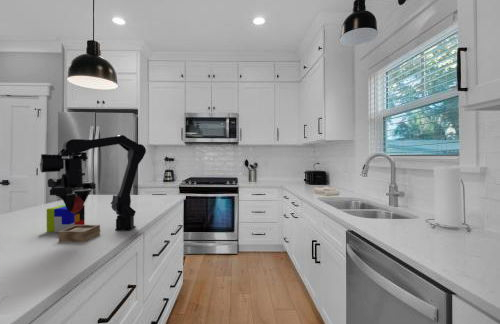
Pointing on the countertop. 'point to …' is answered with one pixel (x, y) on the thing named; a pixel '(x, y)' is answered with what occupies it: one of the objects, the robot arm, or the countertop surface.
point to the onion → (77, 205)
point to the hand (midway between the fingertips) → (75, 209)
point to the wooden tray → (79, 233)
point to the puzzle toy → (63, 218)
